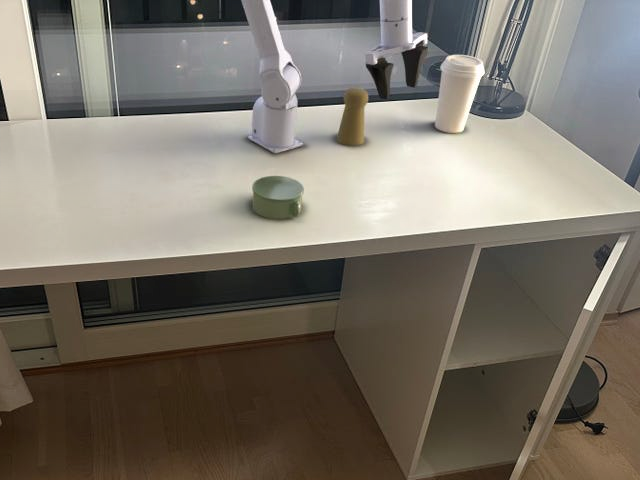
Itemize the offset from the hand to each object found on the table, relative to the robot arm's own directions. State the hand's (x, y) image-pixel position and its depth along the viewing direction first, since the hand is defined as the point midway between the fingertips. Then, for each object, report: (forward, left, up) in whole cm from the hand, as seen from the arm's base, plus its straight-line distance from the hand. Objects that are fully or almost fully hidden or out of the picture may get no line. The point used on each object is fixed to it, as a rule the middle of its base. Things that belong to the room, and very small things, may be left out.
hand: (398, 92), depth 138 cm
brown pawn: (-12, +1, -15) cm, 19 cm away
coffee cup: (-5, +26, -15) cm, 30 cm away
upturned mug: (+3, -32, -14) cm, 35 cm away
